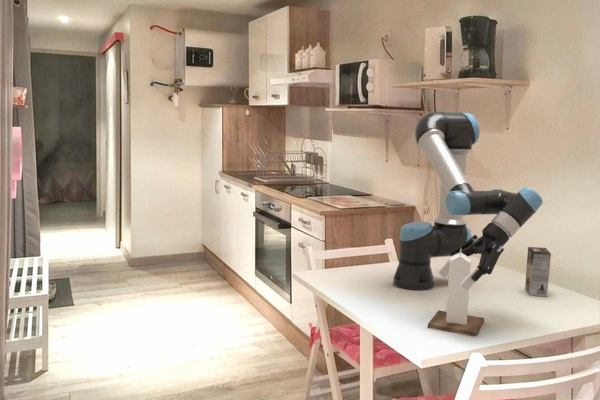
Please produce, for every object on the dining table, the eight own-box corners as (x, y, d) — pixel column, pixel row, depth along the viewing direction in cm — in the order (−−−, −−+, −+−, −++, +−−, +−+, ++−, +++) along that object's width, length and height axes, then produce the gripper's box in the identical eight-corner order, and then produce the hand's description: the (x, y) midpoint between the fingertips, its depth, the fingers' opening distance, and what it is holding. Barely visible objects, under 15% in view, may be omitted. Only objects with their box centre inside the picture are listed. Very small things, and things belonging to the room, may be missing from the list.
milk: (446, 322, 166) (449, 250, 164) (446, 316, 172) (450, 246, 169) (467, 325, 165) (471, 252, 162) (467, 318, 170) (471, 248, 168)
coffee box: (524, 288, 209) (527, 246, 206) (542, 289, 207) (545, 247, 205) (529, 295, 200) (532, 251, 198) (548, 297, 198) (551, 252, 196)
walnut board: (427, 327, 165) (427, 323, 165) (438, 313, 178) (438, 310, 178) (476, 336, 159) (476, 332, 159) (483, 321, 172) (484, 317, 171)
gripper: (533, 247, 157) (482, 301, 155) (484, 231, 181) (439, 277, 179) (518, 229, 155) (465, 284, 153) (470, 215, 179) (425, 262, 177)
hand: (451, 281), depth 166 cm, fingers open, 13 cm apart
